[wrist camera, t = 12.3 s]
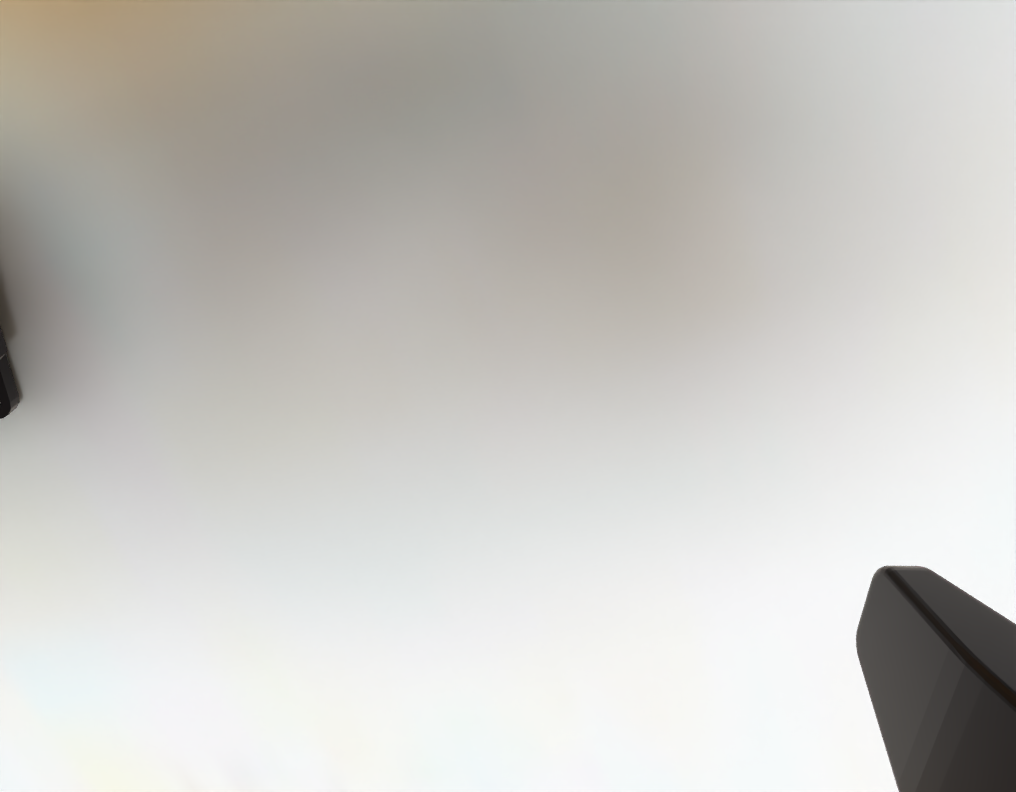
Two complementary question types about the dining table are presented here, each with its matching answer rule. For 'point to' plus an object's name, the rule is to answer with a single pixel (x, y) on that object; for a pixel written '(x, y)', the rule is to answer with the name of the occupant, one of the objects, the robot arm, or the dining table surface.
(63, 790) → the dining table surface
